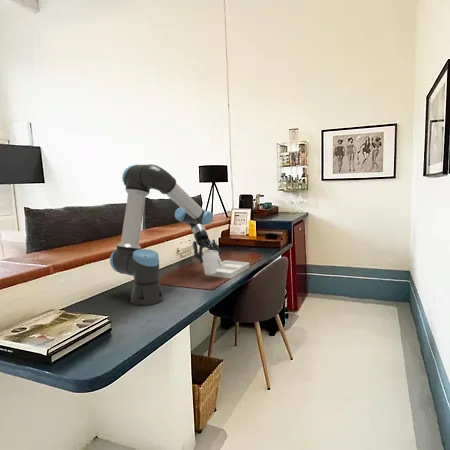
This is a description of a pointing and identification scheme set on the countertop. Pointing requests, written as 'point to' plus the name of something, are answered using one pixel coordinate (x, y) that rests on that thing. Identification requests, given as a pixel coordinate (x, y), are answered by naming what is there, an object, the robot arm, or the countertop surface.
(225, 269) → the tray
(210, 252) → the cup
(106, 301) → the countertop surface
